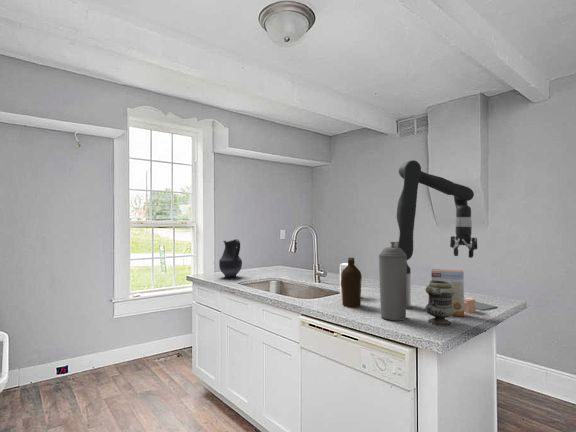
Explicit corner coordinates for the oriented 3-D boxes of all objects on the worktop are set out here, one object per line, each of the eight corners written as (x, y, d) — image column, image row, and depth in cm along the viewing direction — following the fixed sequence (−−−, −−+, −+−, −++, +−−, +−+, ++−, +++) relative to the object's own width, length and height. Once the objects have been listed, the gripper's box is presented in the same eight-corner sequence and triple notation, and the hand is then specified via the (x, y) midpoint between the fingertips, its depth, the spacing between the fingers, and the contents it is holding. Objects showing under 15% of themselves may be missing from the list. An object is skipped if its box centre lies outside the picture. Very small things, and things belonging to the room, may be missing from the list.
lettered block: (468, 313, 173) (468, 300, 173) (459, 310, 178) (459, 298, 178) (475, 311, 175) (475, 299, 175) (466, 309, 180) (466, 297, 180)
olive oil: (343, 308, 185) (343, 259, 185) (339, 303, 195) (339, 256, 195) (364, 307, 185) (363, 258, 185) (359, 302, 195) (358, 256, 196)
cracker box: (464, 314, 172) (463, 269, 172) (464, 317, 166) (463, 271, 166) (432, 311, 178) (432, 268, 178) (431, 314, 172) (431, 270, 172)
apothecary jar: (440, 328, 150) (440, 285, 150) (419, 320, 161) (419, 280, 161) (461, 324, 155) (461, 282, 155) (439, 317, 166) (439, 278, 166)
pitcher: (234, 275, 291) (234, 237, 291) (249, 278, 275) (248, 239, 275) (215, 277, 280) (214, 238, 280) (229, 281, 264) (228, 240, 264)
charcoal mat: (481, 310, 177) (481, 309, 177) (460, 305, 188) (460, 304, 188) (497, 307, 183) (497, 306, 183) (476, 302, 193) (476, 301, 193)
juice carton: (344, 294, 217) (344, 262, 217) (357, 295, 212) (357, 263, 212) (338, 296, 211) (338, 263, 211) (351, 298, 206) (351, 264, 206)
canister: (396, 313, 174) (395, 240, 174) (413, 320, 162) (413, 242, 162) (373, 315, 170) (372, 241, 170) (389, 323, 158) (388, 243, 158)
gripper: (447, 225, 194) (446, 255, 194) (471, 226, 182) (470, 258, 182) (456, 225, 198) (456, 255, 198) (480, 226, 185) (480, 257, 185)
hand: (463, 256), depth 190 cm, fingers open, 8 cm apart
